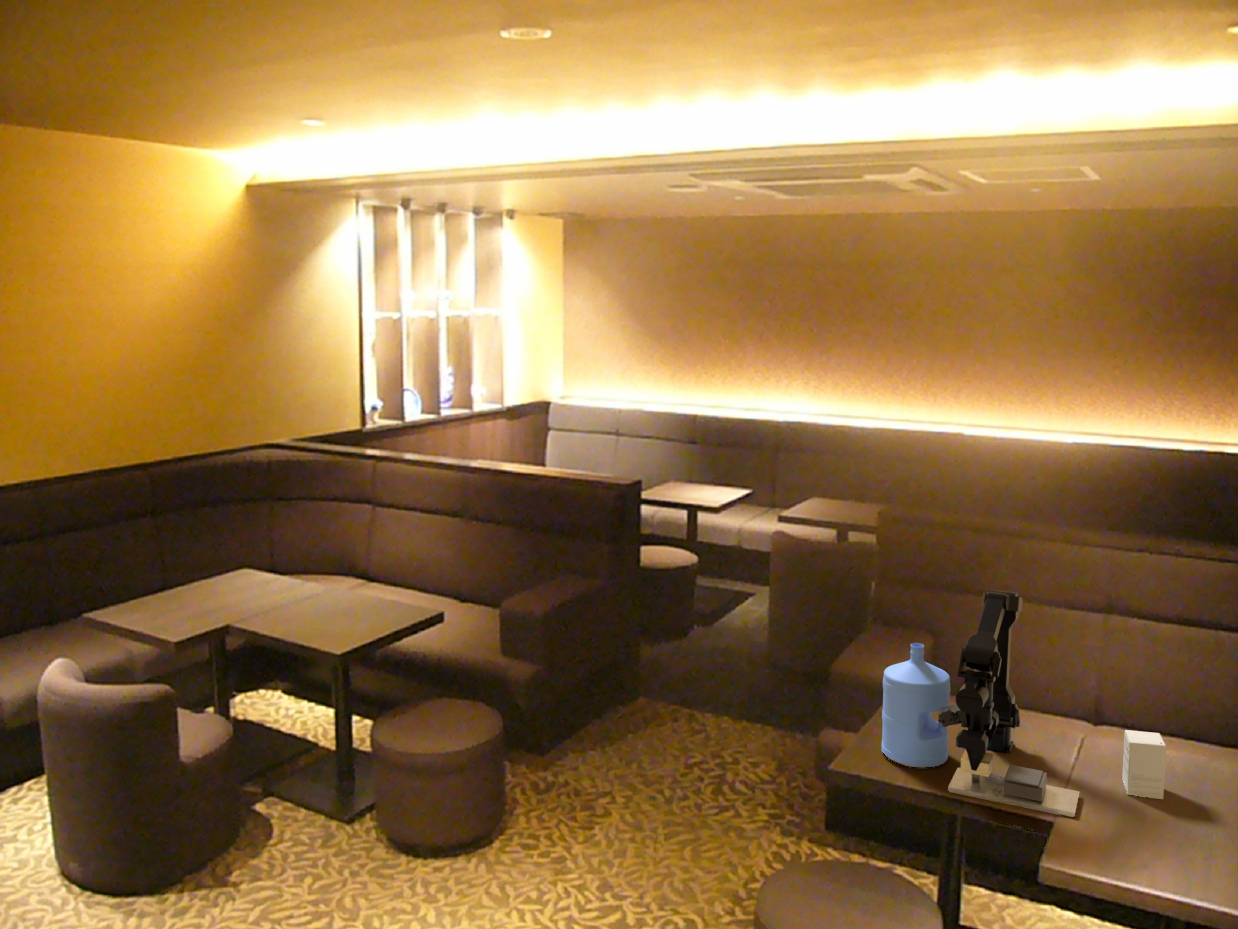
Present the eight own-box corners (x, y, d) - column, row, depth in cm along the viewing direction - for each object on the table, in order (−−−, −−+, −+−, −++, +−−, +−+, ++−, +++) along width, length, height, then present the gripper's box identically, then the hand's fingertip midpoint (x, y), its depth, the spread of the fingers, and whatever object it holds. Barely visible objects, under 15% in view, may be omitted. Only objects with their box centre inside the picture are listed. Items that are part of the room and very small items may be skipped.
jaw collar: (965, 761, 227) (965, 748, 227) (993, 766, 224) (993, 754, 224) (960, 771, 222) (960, 758, 222) (988, 777, 219) (988, 764, 219)
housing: (1009, 779, 224) (1009, 764, 223) (1046, 786, 220) (1046, 771, 219) (1003, 793, 217) (1004, 778, 216) (1041, 801, 213) (1042, 786, 212)
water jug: (873, 761, 237) (876, 649, 233) (890, 738, 251) (892, 631, 247) (940, 775, 229) (944, 659, 226) (953, 750, 243) (957, 640, 239)
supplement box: (1157, 785, 223) (1160, 732, 221) (1163, 800, 216) (1167, 746, 214) (1121, 781, 225) (1124, 728, 223) (1126, 796, 218) (1129, 741, 216)
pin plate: (957, 772, 231) (958, 749, 230) (1079, 796, 218) (1080, 772, 217) (948, 791, 221) (948, 768, 221) (1074, 818, 209) (1076, 793, 208)
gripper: (950, 679, 233) (948, 742, 235) (933, 706, 217) (931, 773, 219) (1000, 687, 227) (997, 751, 229) (986, 715, 211) (983, 784, 213)
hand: (976, 764), depth 223 cm, fingers closed on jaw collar, 6 cm apart
